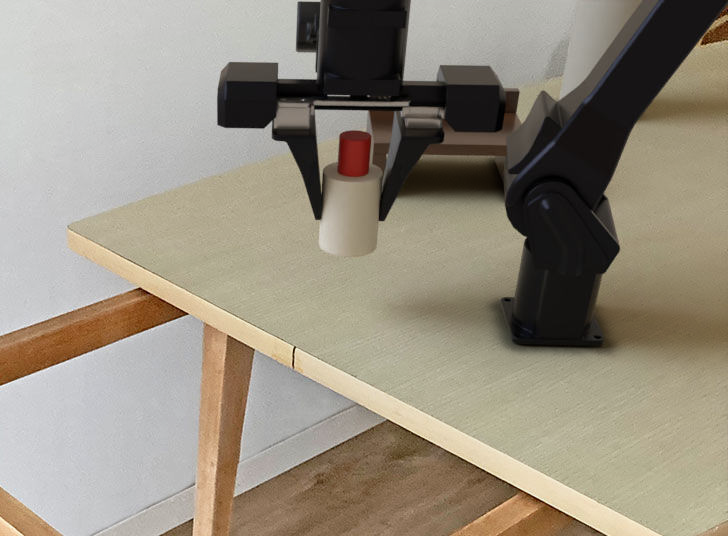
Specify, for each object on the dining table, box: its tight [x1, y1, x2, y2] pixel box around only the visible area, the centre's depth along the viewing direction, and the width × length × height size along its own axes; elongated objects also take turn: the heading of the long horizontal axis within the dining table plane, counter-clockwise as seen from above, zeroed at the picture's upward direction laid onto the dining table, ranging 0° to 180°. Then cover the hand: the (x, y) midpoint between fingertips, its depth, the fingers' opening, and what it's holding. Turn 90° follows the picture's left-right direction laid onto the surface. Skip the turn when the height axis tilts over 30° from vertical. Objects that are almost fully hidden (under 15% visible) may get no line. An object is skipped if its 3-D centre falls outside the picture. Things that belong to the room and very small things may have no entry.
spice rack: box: [365, 87, 522, 183], centre depth 100 cm, size 10×14×7 cm
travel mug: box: [558, 0, 642, 101], centre depth 113 cm, size 8×8×18 cm
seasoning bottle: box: [318, 129, 383, 258], centre depth 76 cm, size 4×4×8 cm
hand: (349, 218), depth 77 cm, fingers closed on seasoning bottle, 4 cm apart
